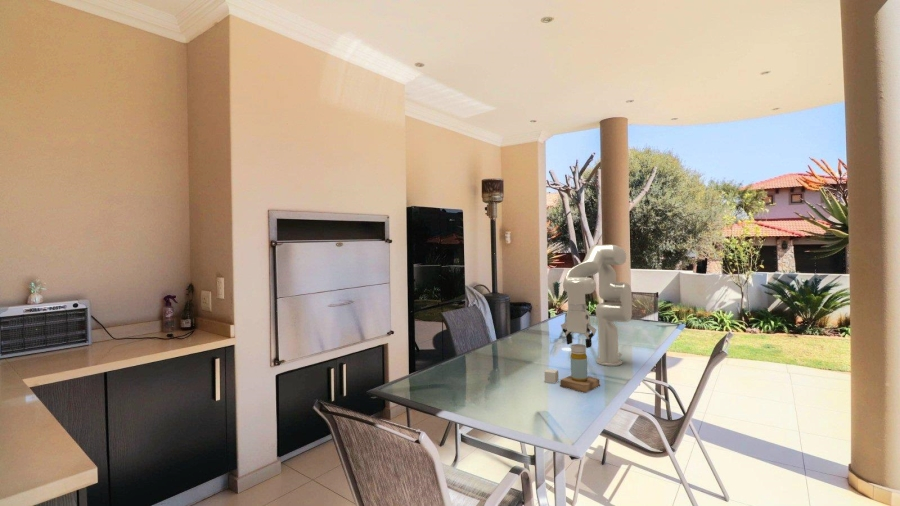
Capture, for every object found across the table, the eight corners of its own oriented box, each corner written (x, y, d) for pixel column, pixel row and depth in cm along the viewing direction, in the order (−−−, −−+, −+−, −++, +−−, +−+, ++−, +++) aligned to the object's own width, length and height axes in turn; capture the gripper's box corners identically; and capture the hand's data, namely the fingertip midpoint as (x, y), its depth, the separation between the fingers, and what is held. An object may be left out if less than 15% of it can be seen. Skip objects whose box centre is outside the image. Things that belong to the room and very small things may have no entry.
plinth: (575, 379, 191) (575, 373, 191) (600, 385, 182) (600, 379, 182) (559, 386, 183) (559, 379, 183) (584, 393, 174) (584, 386, 174)
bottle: (588, 382, 179) (587, 347, 178) (572, 381, 180) (570, 347, 180) (586, 376, 186) (585, 343, 185) (570, 376, 187) (569, 343, 187)
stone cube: (548, 379, 194) (547, 368, 194) (558, 380, 192) (558, 369, 192) (544, 382, 190) (544, 371, 190) (555, 383, 187) (555, 372, 187)
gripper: (599, 307, 178) (601, 346, 179) (565, 304, 191) (567, 340, 192) (589, 310, 173) (591, 350, 174) (555, 307, 187) (557, 344, 187)
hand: (578, 345), depth 183 cm, fingers open, 9 cm apart
